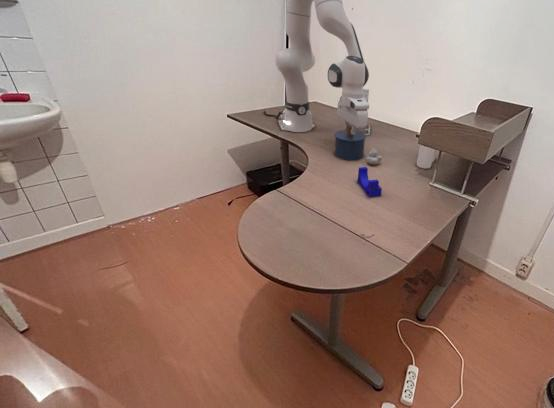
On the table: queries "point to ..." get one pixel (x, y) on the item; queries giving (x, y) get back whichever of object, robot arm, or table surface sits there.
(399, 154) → the table surface
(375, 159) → the rubber duck
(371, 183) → the blue l-shaped block
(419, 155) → the can
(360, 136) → the pail lid
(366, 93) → the network device
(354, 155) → the pail
